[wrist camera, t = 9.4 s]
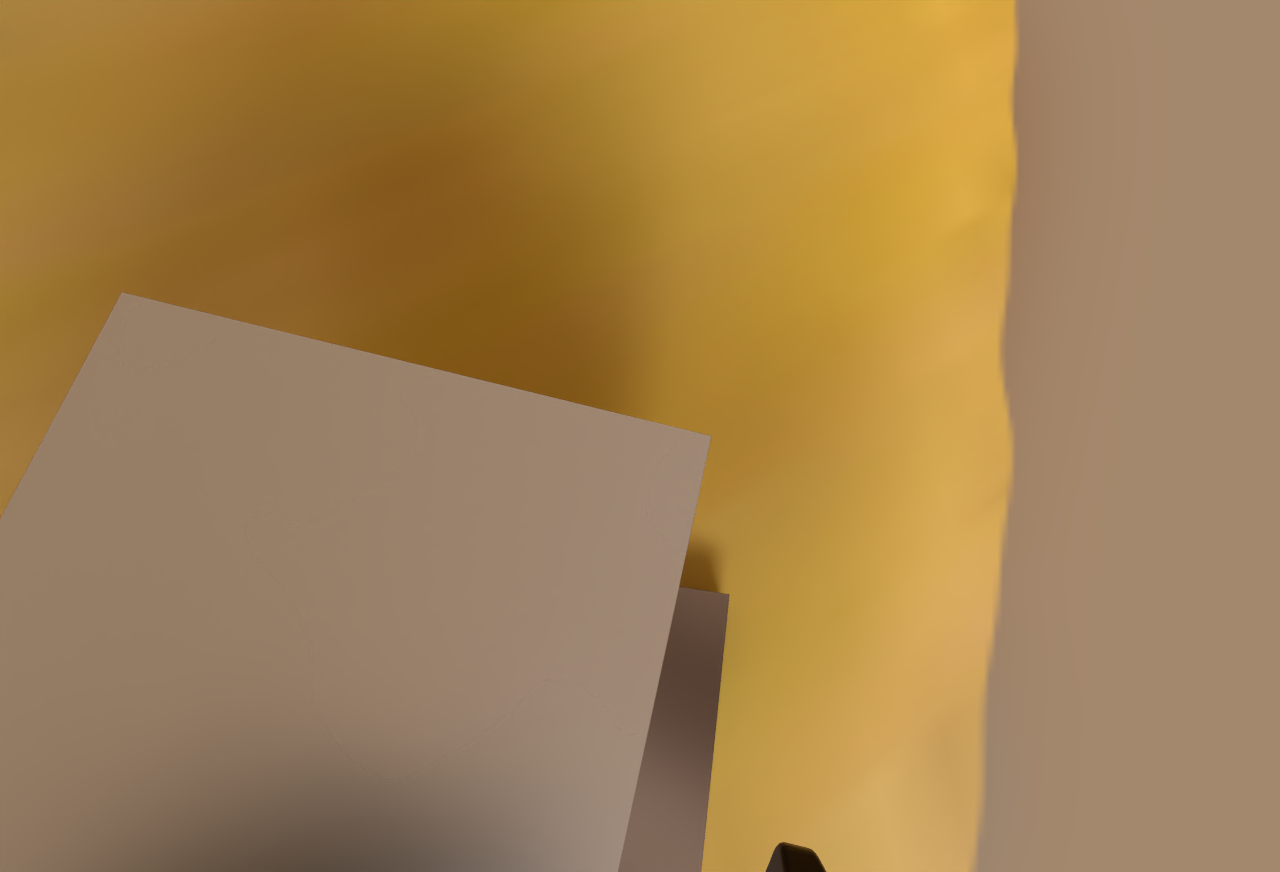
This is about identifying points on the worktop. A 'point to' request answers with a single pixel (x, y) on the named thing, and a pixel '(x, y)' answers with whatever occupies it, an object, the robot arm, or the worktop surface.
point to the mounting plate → (679, 742)
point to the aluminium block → (328, 612)
